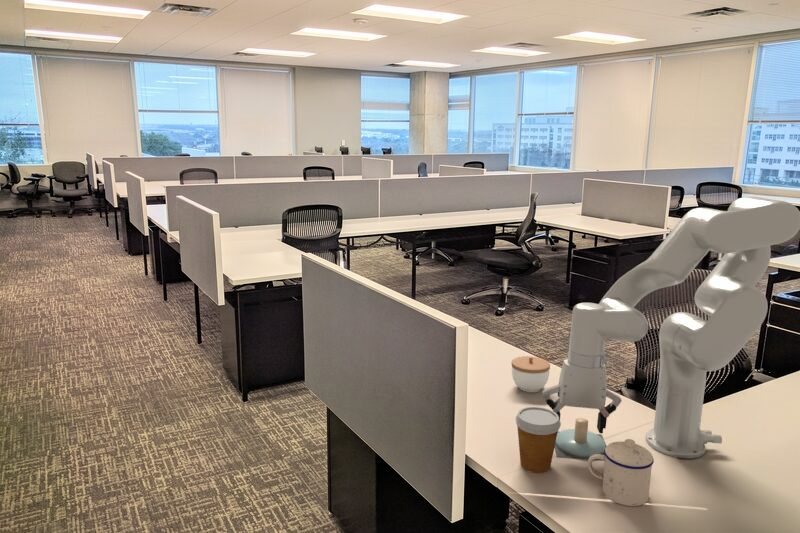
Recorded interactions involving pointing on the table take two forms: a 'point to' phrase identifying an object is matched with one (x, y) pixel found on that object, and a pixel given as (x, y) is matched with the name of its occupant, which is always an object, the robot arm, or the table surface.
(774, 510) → the table surface
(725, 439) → the table surface
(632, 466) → the teacup with lid
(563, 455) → the mat
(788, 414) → the table surface
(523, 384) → the lidded jar
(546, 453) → the disposable coffee cup
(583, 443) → the cover
